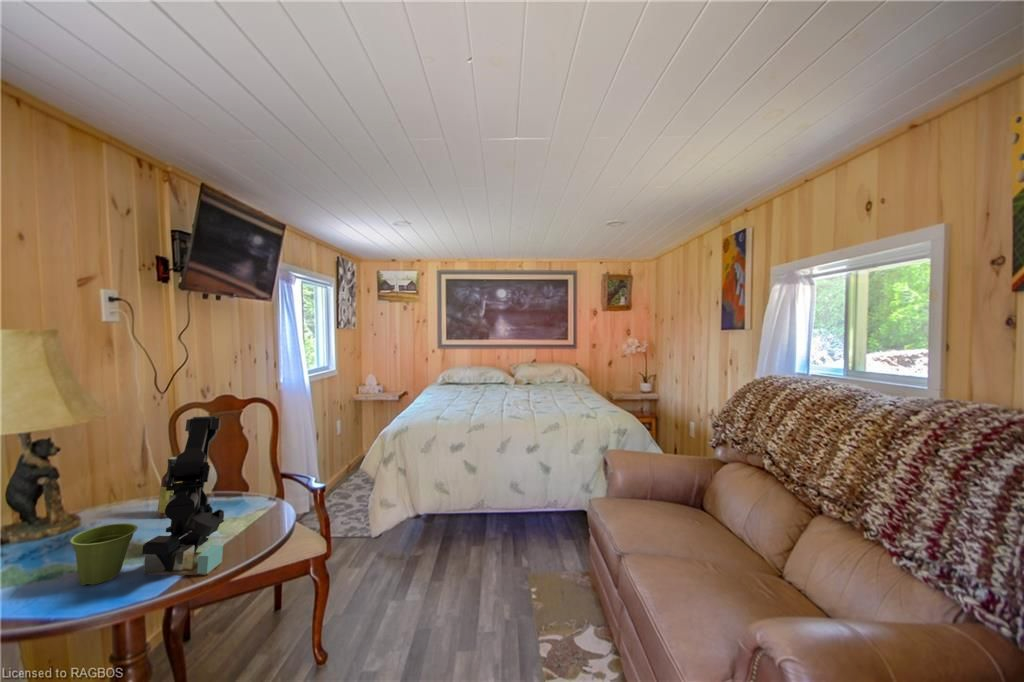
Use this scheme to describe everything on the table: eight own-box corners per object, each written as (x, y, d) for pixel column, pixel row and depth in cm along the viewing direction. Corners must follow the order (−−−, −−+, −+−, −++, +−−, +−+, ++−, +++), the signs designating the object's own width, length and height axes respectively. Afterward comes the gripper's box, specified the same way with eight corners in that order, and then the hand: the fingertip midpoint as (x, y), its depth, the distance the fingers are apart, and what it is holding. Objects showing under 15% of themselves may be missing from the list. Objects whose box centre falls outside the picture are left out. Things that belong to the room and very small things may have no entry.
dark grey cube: (143, 572, 99) (145, 554, 99) (161, 560, 104) (162, 544, 104) (163, 572, 99) (165, 555, 99) (180, 561, 104) (181, 544, 105)
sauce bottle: (169, 519, 129) (174, 461, 130) (151, 518, 130) (157, 459, 130) (186, 511, 136) (191, 456, 137) (169, 510, 136) (174, 455, 137)
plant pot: (89, 595, 90) (94, 547, 90) (51, 587, 92) (56, 540, 92) (145, 568, 101) (149, 526, 102) (110, 561, 103) (114, 520, 104)
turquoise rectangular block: (197, 573, 99) (198, 555, 100) (212, 561, 105) (213, 545, 105) (206, 573, 100) (208, 555, 100) (221, 561, 105) (223, 545, 105)
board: (144, 574, 99) (144, 571, 99) (160, 563, 104) (160, 561, 104) (207, 575, 100) (207, 572, 100) (220, 564, 105) (221, 562, 105)
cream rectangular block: (147, 569, 100) (148, 551, 100) (159, 561, 103) (161, 544, 103) (190, 570, 100) (192, 552, 100) (201, 562, 104) (203, 545, 104)
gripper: (190, 521, 94) (184, 585, 93) (239, 493, 112) (235, 547, 112) (143, 520, 93) (137, 584, 92) (200, 492, 112) (195, 546, 111)
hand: (181, 563), depth 102 cm, fingers open, 7 cm apart
